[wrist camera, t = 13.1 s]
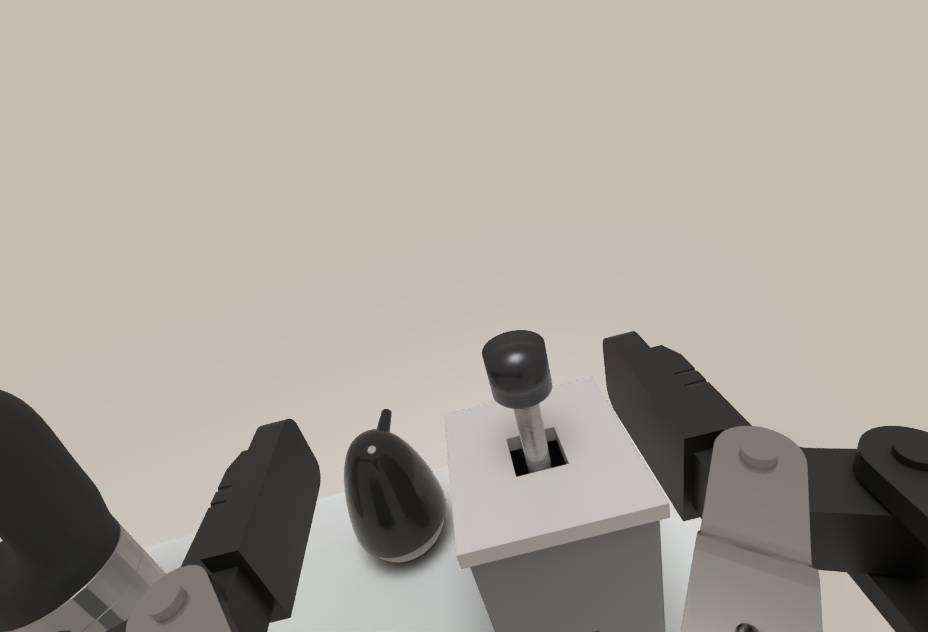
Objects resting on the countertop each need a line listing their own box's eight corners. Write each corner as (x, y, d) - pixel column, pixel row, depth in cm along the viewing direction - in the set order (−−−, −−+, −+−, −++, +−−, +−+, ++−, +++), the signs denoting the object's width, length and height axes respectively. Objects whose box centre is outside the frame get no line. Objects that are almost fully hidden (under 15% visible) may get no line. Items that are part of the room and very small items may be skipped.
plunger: (541, 677, 35) (453, 405, 22) (521, 582, 42) (444, 331, 29) (635, 654, 35) (602, 367, 22) (599, 563, 42) (558, 302, 29)
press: (523, 724, 34) (456, 555, 24) (494, 554, 46) (442, 397, 37) (675, 688, 34) (669, 503, 24) (605, 526, 46) (582, 361, 36)
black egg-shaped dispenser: (462, 495, 54) (427, 398, 47) (443, 581, 45) (397, 478, 38) (385, 495, 57) (342, 404, 50) (353, 577, 48) (296, 480, 41)
